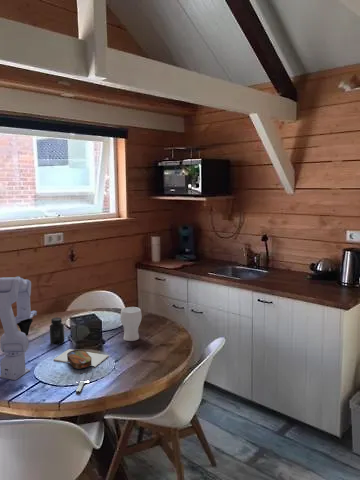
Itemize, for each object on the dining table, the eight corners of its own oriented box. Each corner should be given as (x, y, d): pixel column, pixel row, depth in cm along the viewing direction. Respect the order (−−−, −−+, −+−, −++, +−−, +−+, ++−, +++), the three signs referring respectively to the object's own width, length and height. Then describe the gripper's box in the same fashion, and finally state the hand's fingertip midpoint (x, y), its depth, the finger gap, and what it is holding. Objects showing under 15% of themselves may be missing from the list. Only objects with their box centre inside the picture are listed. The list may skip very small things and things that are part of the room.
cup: (143, 334, 218) (143, 306, 215) (139, 342, 207) (139, 313, 205) (123, 334, 219) (123, 306, 216) (118, 341, 208) (118, 312, 206)
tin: (64, 352, 188) (83, 347, 192) (65, 358, 188) (83, 353, 192) (74, 365, 175) (94, 359, 179) (75, 372, 175) (94, 366, 180)
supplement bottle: (67, 340, 210) (66, 317, 208) (59, 345, 203) (58, 321, 201) (55, 338, 211) (54, 315, 210) (47, 344, 205) (46, 320, 203)
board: (95, 367, 180) (95, 366, 180) (53, 360, 186) (53, 359, 186) (108, 356, 191) (108, 355, 191) (69, 350, 198) (68, 349, 198)
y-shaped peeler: (84, 393, 158) (84, 391, 158) (71, 393, 158) (71, 391, 158) (93, 373, 175) (93, 371, 175) (81, 373, 175) (81, 371, 175)
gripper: (19, 312, 178) (21, 342, 180) (41, 302, 191) (43, 330, 193) (6, 310, 180) (8, 340, 182) (29, 300, 193) (30, 328, 196)
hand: (25, 335), depth 188 cm, fingers closed
